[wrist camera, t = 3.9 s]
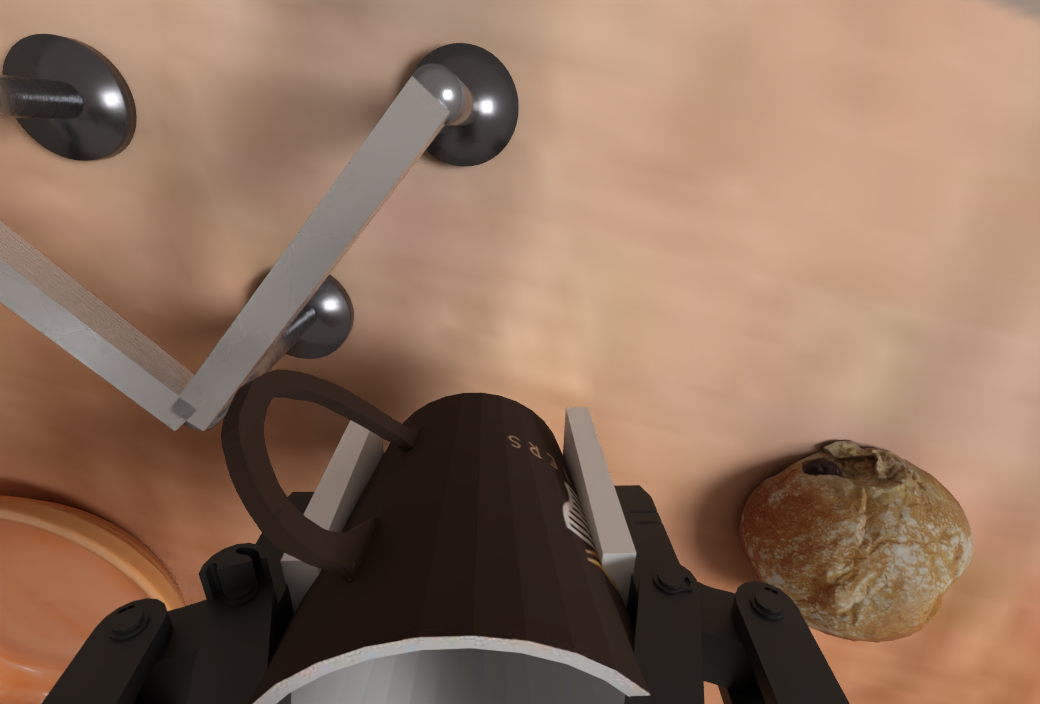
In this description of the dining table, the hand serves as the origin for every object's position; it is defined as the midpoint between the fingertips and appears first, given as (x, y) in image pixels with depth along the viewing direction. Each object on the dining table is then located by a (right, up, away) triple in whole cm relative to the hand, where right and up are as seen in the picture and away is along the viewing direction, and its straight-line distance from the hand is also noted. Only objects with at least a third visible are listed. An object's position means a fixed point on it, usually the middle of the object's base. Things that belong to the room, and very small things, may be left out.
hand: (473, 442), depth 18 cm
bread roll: (+18, -6, +10) cm, 22 cm away
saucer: (-24, -10, +11) cm, 28 cm away
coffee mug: (0, 0, +1) cm, 1 cm away
